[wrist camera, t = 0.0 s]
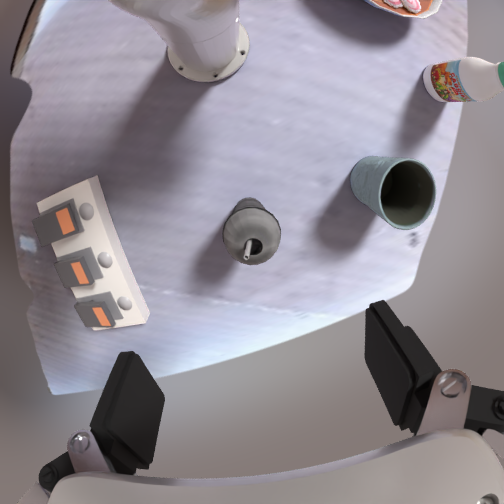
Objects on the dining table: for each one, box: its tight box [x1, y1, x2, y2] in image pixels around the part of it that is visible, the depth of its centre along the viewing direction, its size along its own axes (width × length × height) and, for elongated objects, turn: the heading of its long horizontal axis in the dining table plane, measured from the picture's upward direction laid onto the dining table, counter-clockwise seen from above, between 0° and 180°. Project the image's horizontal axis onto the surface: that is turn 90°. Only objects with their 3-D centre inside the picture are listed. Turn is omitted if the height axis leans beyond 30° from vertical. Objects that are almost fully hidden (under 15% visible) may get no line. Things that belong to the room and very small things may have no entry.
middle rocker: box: [54, 256, 95, 288], centre depth 43 cm, size 5×8×2 cm, turn 103°
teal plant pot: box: [350, 156, 436, 230], centre depth 39 cm, size 10×10×12 cm
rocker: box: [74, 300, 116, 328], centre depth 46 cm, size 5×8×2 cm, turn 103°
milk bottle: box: [423, 57, 504, 102], centre depth 28 cm, size 8×8×20 cm
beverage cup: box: [223, 198, 281, 265], centre depth 37 cm, size 7×7×20 cm
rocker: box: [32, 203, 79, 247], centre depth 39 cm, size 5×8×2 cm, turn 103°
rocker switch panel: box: [37, 175, 150, 331], centre depth 46 cm, size 28×13×4 cm, turn 13°
